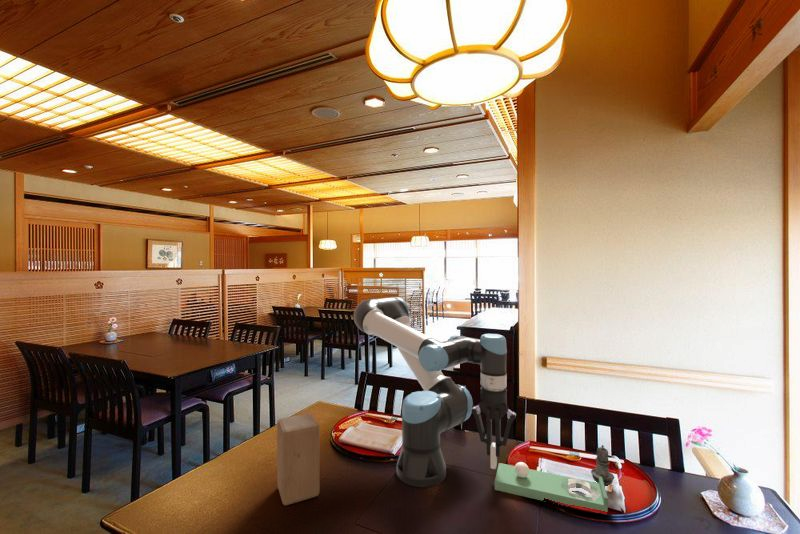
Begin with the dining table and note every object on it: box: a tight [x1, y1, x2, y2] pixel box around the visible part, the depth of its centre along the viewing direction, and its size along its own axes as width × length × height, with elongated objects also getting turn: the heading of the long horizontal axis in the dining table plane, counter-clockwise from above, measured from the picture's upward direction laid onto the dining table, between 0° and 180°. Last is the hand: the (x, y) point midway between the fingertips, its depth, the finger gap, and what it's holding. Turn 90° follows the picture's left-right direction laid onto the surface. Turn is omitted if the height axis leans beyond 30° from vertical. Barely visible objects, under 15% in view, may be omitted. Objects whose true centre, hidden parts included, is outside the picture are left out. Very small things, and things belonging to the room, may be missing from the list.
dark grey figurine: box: [590, 444, 615, 486], centre depth 103 cm, size 6×6×12 cm
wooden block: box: [276, 412, 321, 506], centre depth 101 cm, size 10×10×20 cm
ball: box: [514, 461, 530, 478], centre depth 104 cm, size 4×4×4 cm
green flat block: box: [494, 462, 609, 513], centre depth 101 cm, size 28×10×4 cm, turn 68°
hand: (493, 466), depth 107 cm, fingers closed
